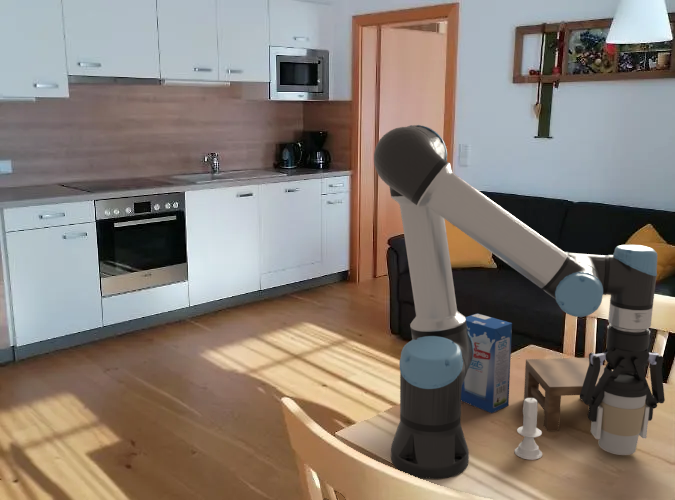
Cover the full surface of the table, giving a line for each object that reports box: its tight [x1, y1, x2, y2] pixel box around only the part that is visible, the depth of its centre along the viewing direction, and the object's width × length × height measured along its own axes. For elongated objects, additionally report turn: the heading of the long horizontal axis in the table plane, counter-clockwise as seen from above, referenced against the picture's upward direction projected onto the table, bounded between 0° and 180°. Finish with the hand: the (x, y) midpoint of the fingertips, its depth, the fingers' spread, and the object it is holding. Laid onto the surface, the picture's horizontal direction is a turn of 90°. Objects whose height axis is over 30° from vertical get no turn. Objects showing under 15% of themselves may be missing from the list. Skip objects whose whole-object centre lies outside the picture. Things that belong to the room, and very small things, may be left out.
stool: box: [523, 357, 605, 432], centre depth 150 cm, size 16×16×10 cm
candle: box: [514, 398, 543, 461], centre depth 132 cm, size 5×5×12 cm
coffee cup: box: [597, 373, 649, 456], centre depth 132 cm, size 9×9×15 cm
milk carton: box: [461, 313, 513, 414], centre depth 155 cm, size 10×6×20 cm, turn 40°
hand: (618, 435), depth 133 cm, fingers closed on coffee cup, 9 cm apart
